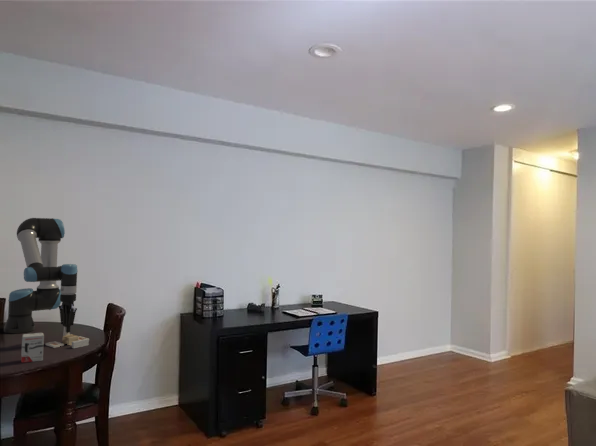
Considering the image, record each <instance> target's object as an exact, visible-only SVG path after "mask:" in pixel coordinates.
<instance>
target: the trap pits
mask: <svg viewBox="0 0 596 446" xmlns="http://www.w3.org/2000/svg"><path fill="white" fill-rule="evenodd" d="M83 339H89V338H88V337H84V336H81V335H80V336H79V335H78V340H83ZM45 346H47V347H50V348H54V349H55V348H61V347H64V346H65V344H63V343H62V342H60V341H54V340H53V341H50V342H45ZM60 346H61V347H60Z"/></svg>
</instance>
